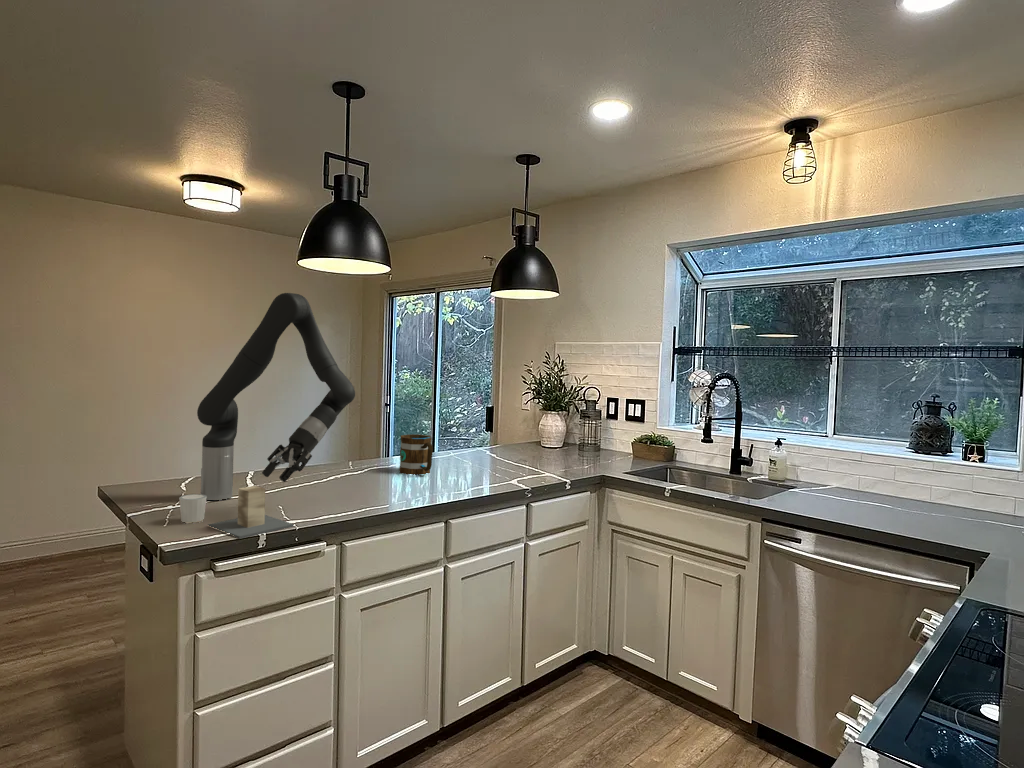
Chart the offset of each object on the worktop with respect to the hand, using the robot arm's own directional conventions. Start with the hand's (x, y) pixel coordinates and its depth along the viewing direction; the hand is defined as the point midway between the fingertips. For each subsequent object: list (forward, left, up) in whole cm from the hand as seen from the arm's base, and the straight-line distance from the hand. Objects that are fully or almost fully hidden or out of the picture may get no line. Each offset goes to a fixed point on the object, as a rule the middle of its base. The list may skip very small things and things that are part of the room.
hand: (272, 477), depth 173 cm
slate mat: (0, -6, -13) cm, 14 cm away
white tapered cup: (-16, -14, -13) cm, 25 cm away
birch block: (0, -6, -12) cm, 14 cm away
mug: (-21, +82, -13) cm, 85 cm away
